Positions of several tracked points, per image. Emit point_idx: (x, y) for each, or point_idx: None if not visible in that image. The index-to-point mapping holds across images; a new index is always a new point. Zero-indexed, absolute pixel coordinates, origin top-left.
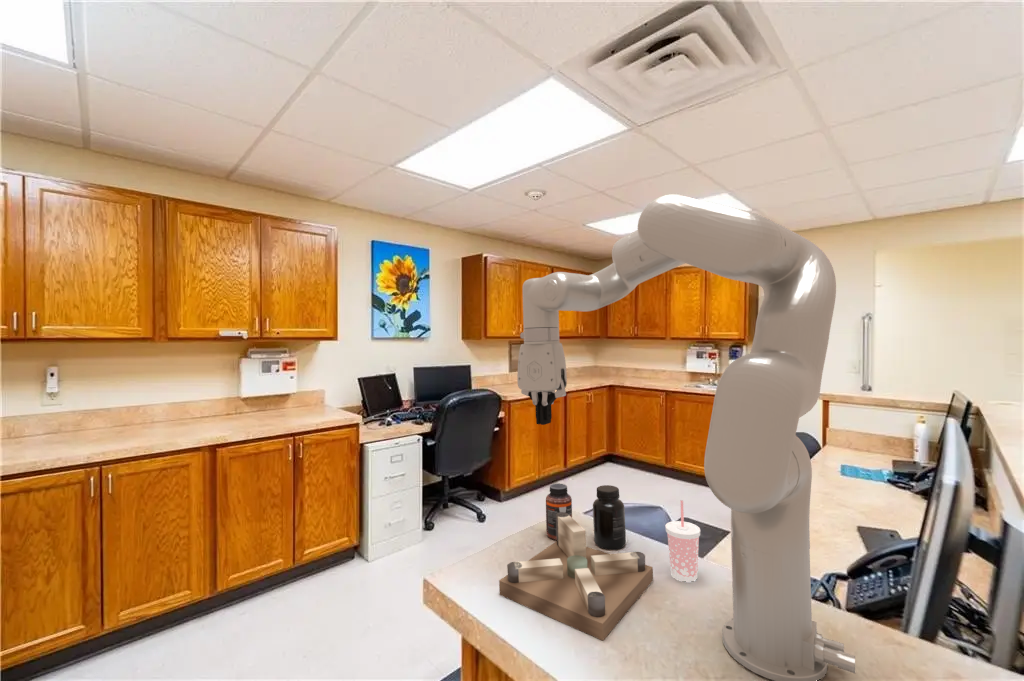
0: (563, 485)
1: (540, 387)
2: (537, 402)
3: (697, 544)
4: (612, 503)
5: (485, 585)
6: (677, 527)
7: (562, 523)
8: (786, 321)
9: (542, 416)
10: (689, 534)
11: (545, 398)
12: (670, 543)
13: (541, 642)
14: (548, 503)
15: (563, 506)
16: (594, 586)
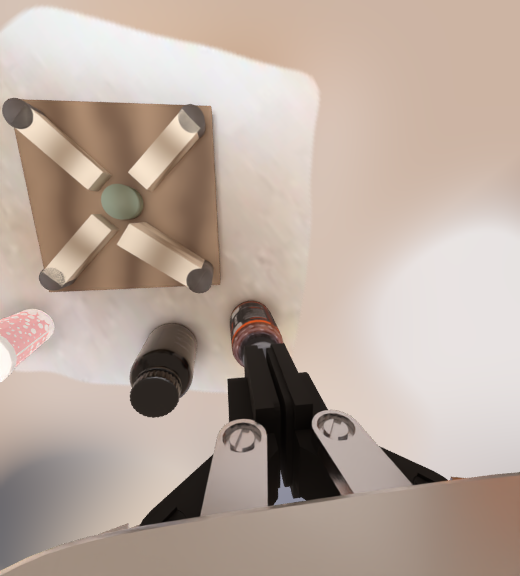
0: None
1: (241, 559)
2: (312, 430)
3: None
4: (140, 372)
5: (246, 122)
6: None
7: (181, 255)
8: None
9: (248, 368)
10: None
11: (229, 474)
12: (8, 328)
13: (86, 51)
14: (265, 322)
15: (236, 331)
16: (40, 140)
